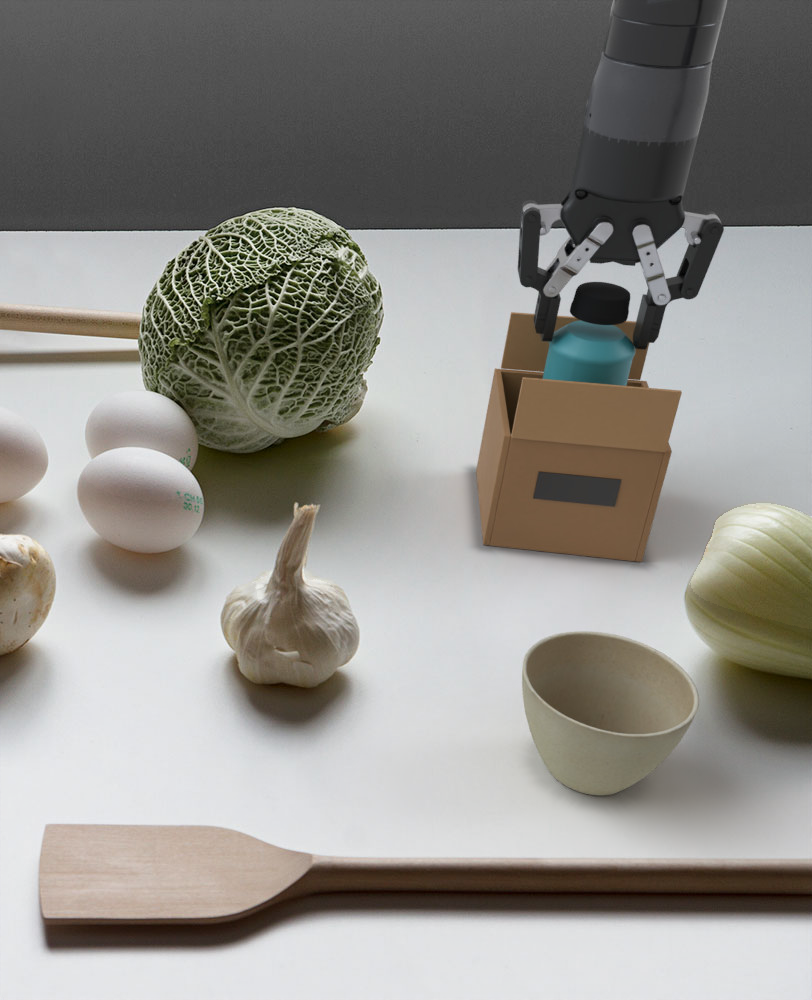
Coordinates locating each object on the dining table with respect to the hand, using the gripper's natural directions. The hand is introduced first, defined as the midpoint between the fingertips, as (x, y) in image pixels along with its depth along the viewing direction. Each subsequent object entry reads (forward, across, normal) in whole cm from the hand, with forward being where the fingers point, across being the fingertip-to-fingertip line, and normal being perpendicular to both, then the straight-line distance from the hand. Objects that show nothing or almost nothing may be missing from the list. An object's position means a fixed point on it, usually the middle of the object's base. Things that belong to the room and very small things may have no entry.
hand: (592, 340), depth 99 cm
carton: (+16, 0, 0) cm, 16 cm away
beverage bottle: (+16, 0, 0) cm, 16 cm away
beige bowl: (+16, -1, -31) cm, 35 cm away
